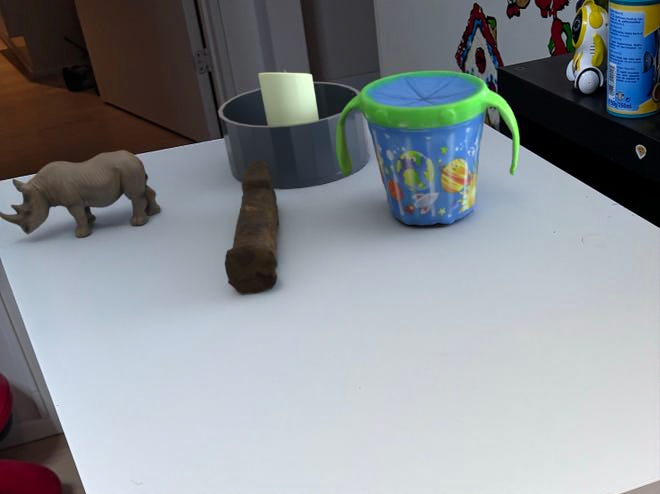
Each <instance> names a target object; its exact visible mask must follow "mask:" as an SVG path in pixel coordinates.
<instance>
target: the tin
mask: <svg viewBox="0 0 660 494" xmlns="http://www.w3.org/2000/svg"><path fill="white" fill-rule="evenodd" d="M313 85H314V92H315V98H316V104H317V111H318V117H319V120H315V121H311V122H306V123H299V124H292V125H279V126H268V123H267V118H266V113H265V108H264V102H263V97H262V92H261V87H259V88H255V89H252V90H249V91H246V92H243V93H239V94H238V95H236V96H234V97H231V98H229V99H228V100H227V101H225V102H224V103H222V104H221V106H220V107H219V109H218V110H217V112H218V117H219V122H220V127H221V131H222V135H223V140H224V145H225V149H226V154H227V158H228V163H229V167H230V173H231V174H232V176H233V178H234V179H235V180H237V181H238V182H240V183H241V182H242V176H243V174H244V173H245V171H246V169H247V166H248V165H249V164H250V163H252V162H255V161H257V160H262V161H264V162H266V164H267V165H268V166H269V169H270V173H271V177H272V182H273V187H274V189H281V190H282V189H297V188H307V187H314V186H320V185H323V184H327V183H331V182H335V181H338V180H341V179H344V178H346V177H347V176H345V175H344V174H343V173H342V171H341V168H340V166H339V162H338V158H337V152H336V130H337V124H338V121H339V118H340V115H341V113H342V111H343V110H344V108H345V107H346V106H347V104H348V103H349V102H350V101H351V100H352V99H353V98H354V97H356V96H357V95H359V94H360V92H361V91H360V90H358V89H356V88H354V87H352V86H349V85H346V84H342V83H336V82H335V83H334V82H328V81H327V82H326V81H313ZM366 122H367V121H366V119H365V117H364V115H363V114H362V112H361V111H360V110H358V109H355V108H354V109H353V110H352V111H351V112H350V113H349V114H348V116H347V118H346V124H345V131H344V134H345V138H346V142H347V146H348V150H349V154H350V159H351V162H352V171H351V174H350V175H349V176H351V175H353V174H355V173H357V172H359V171H360V170H362V169H363V168H364V166H366V165H367V163H368V162H369V159H370V147H369V138H368V131H367V123H366Z"/></svg>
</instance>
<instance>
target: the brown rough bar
mask: <svg viewBox="0 0 660 494" xmlns="http://www.w3.org/2000/svg"><path fill="white" fill-rule="evenodd" d="M240 183H241V191H242V196H241V205H240V208H239V213H238V217H237V221H236V226H235V231H234V236H233V243H232V248H230V249H228V250H227V251H226V254H225V259H224V269H225V274H226V276H227V279H228V281H227V284H229V285H230V286H231V287H232V288H233V289H234V290H235V291H236V292H237V293H240V294H241V295H244V294H245V295H246V294H257V293H260V292H263V291H267V290H270V289H272V288H274V286H276V284H277V280H278V275H277V272H276V270H277V268H278V265H279V264H278V258H277V228H278V226H279V225H280V217H279V209H278V203H277V194H276V193H277V192H276V191H275V188H274V187H273V182H272V177H271V173H270V169H269V166H268V165H267V164H266V162H264V161H262V160H257V161H255V162H252V163H250V164H249V165H248V166H247V169H246V171H245V173H244V174H243V176H242V182H240Z"/></svg>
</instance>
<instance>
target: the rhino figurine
mask: <svg viewBox="0 0 660 494" xmlns="http://www.w3.org/2000/svg"><path fill="white" fill-rule="evenodd" d="M148 180H149V175H148V173H147V172H146V168H145V165H144V163H143V161H142V160H141V159H140V158H139V157H138V156H137V155H135V154H134V153H132V152H129V151H128V150H124V149H120V150H116V151H109V152H102V153H98V154H97V155H95V156H93V157H92V158H90V159H88V160H84V161H82V162H70V161H64V160H58V161H52V162H49V163H47V164H46V165H44V166H43V167H42V168H40V170H39V171H37V173H36V174H34V175H33V177H32V178H30V179H29V180H28V181H27V182H23V181H20V180H17V179H15V178H12V184H13V186H14V187H15V189H16V190H17V191H18V192H19V193H21V194H22V203H21V204H10V207H11V209H13V210H14V211H15V213H13V214H8V213H3V212H2V211H0V218H1V219H2V220H3V221H6V222H9V223H10V224H13V225H15V226H16V225H17V226H19V227H20V228H21V231H23V232H24V233H25V234H26V235H30V234H32V233H33V232H35V230H38V228H40V226H41V225H43V224H44V223H45V222H46V220H47V219H48V218H49V216H50V210H51V208H57V207H63V208H66V210H67V211H68V213H69V215H70V216H72V217H73V219H74V221H75V222H76V229H75V233H74V234H75V237H76V238H84V237H87V236H89V235H90V234H91V233H92V228H91V226H92V225H94V224H95V223H96V221H97V217H96V215H94V214H93V213H92V209H91V208H95V209H97V208H98V209H100V208H101V209H102V208H108V207H110V206H112V205H114V204H115V203H116V202H118V201H119V200H120V198H122V196H125V198H127V199H128V200H130V202H131V206H132V207H131V208H132V215H131V217H130V218H129V223H130V225H131V226H142V225H144V224H145V223H147V222H148V221H149V216H148V215H154V214H156V213H158V212H160V211H161V209H162V207H161V206H160V205H159V204H158V203H157V201H156V200H157V199H156V197H157V193H156V191H155V189H153V188H152V187H150V186H149V185H148V184H147V183H148Z"/></svg>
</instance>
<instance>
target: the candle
mask: <svg viewBox="0 0 660 494" xmlns="http://www.w3.org/2000/svg"><path fill="white" fill-rule="evenodd" d="M257 75H258V80H259V85H260V88H261V92H262V97H263V102H264V108H265V113H266V118H267V123H268V126H279V125H292V124H299V123H306V122H311V121H315V120H319V117H318V111H317V104H316V98H315V92H314V85H313V82H314V80H313V75H312V73H311V74H310V73H306V72H305V73H304V72H287V71H286V69H283V72H258V74H257Z"/></svg>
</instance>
